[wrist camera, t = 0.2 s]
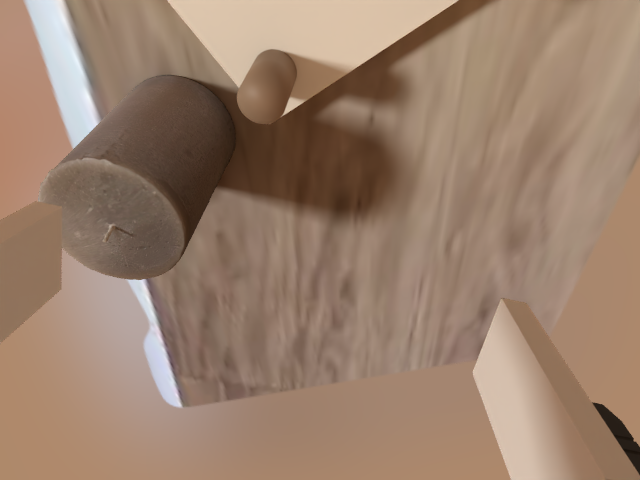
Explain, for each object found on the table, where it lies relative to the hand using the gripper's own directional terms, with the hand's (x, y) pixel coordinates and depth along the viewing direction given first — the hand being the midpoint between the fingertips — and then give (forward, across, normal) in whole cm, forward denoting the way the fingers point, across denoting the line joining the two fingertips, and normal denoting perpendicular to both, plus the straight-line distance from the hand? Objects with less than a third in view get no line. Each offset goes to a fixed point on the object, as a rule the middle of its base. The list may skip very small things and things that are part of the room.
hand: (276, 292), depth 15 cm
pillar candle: (+30, -12, -3) cm, 32 cm away
